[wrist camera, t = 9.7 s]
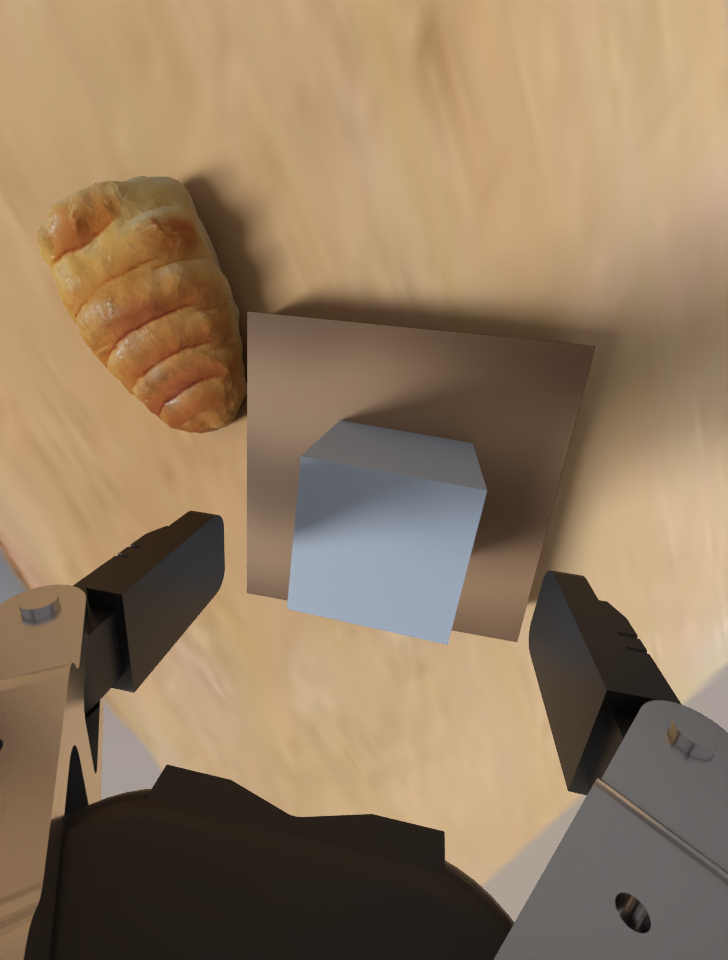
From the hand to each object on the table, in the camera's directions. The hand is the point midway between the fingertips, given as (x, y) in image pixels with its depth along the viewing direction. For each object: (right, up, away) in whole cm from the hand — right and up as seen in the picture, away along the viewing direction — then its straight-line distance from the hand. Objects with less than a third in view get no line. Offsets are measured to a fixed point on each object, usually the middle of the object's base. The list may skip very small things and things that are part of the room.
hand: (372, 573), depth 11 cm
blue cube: (+1, +2, +6) cm, 7 cm away
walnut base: (+1, +3, +9) cm, 10 cm away
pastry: (-8, +10, +8) cm, 15 cm away
